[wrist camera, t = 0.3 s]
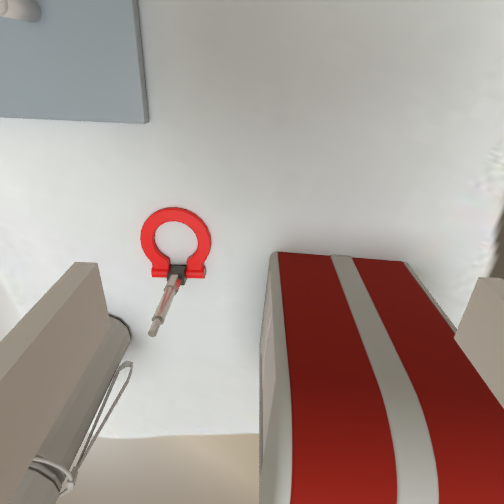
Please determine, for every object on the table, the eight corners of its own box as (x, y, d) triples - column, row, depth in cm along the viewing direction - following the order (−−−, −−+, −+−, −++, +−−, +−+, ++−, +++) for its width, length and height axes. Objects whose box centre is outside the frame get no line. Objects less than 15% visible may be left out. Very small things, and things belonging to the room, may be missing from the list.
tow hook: (139, 205, 41) (148, 273, 45) (91, 252, 29) (109, 339, 33) (210, 206, 40) (212, 275, 44) (191, 254, 29) (196, 341, 33)
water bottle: (81, 347, 51) (-55, 561, 29) (81, 305, 47) (-76, 514, 25) (144, 358, 52) (57, 574, 30) (148, 317, 48) (53, 530, 26)
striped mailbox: (377, 357, 51) (481, 615, 27) (258, 349, 50) (256, 601, 26) (411, 260, 43) (600, 502, 19) (270, 249, 42) (282, 481, 19)
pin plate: (-103, -131, 27) (-208, -188, 21) (125, -121, 27) (86, -175, 21) (-25, 113, 36) (-83, 123, 30) (149, 121, 36) (126, 132, 30)
